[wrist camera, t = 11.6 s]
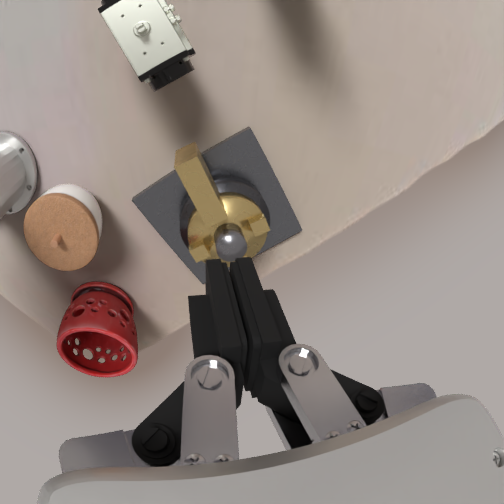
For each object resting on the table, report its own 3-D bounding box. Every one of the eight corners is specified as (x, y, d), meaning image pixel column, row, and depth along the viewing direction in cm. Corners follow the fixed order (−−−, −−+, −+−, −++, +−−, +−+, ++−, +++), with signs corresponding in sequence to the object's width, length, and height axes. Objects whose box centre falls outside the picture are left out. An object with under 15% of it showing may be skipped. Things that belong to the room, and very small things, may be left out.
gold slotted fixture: (273, 240, 41) (286, 267, 36) (207, 268, 41) (212, 298, 37) (226, 127, 31) (234, 139, 26) (146, 165, 31) (139, 185, 26)
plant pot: (108, 334, 51) (102, 386, 42) (58, 295, 43) (41, 348, 34) (155, 307, 49) (155, 363, 40) (103, 259, 42) (87, 316, 32)
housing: (202, 280, 48) (204, 297, 45) (130, 194, 37) (126, 207, 34) (300, 226, 46) (309, 240, 43) (247, 123, 35) (253, 129, 32)
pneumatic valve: (159, 88, 30) (147, 96, 20) (117, 17, 23) (87, -4, 13) (200, 66, 29) (207, 63, 20) (158, -6, 22) (147, -38, 13)
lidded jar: (124, 206, 38) (112, 243, 30) (83, 251, 40) (67, 292, 32) (70, 156, 31) (42, 183, 24) (33, 209, 34) (6, 245, 26)
